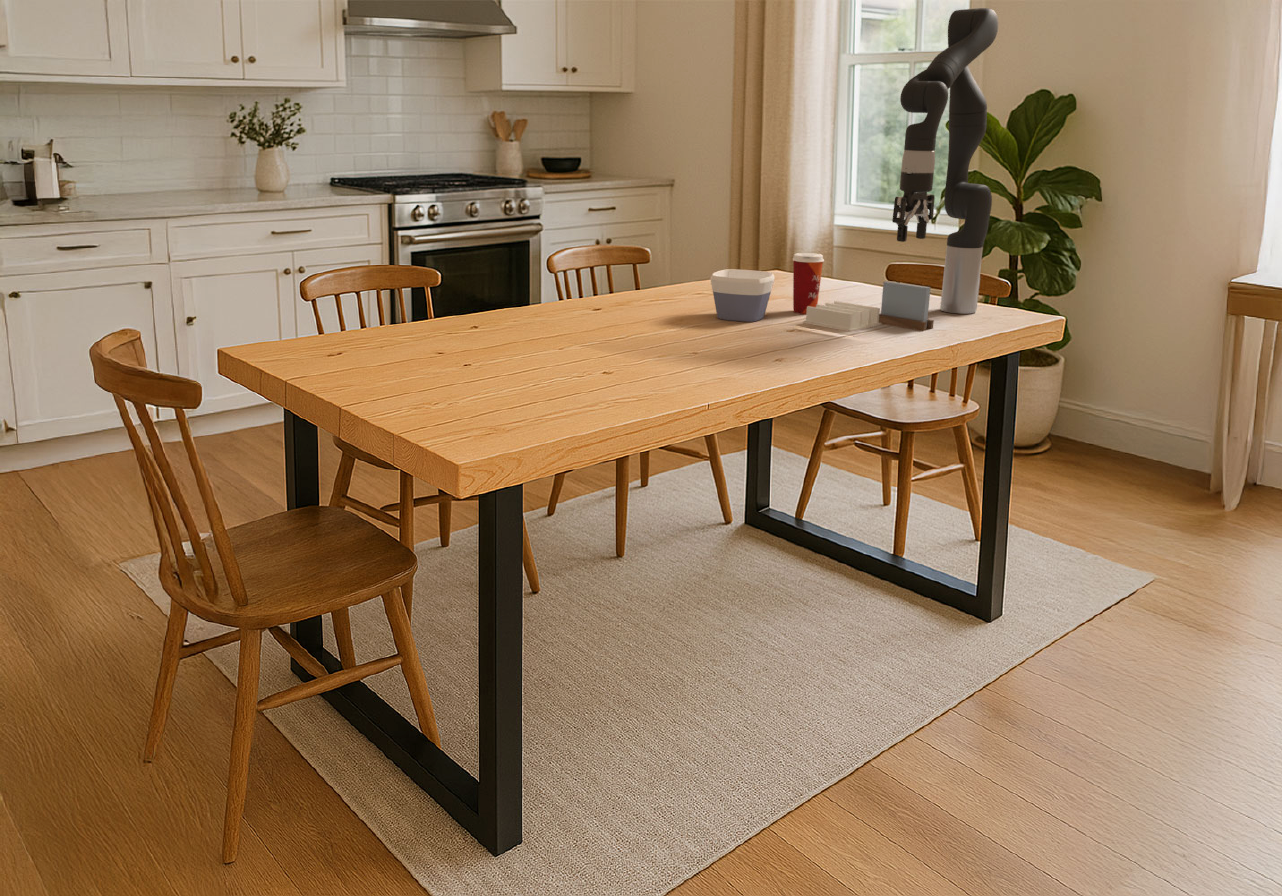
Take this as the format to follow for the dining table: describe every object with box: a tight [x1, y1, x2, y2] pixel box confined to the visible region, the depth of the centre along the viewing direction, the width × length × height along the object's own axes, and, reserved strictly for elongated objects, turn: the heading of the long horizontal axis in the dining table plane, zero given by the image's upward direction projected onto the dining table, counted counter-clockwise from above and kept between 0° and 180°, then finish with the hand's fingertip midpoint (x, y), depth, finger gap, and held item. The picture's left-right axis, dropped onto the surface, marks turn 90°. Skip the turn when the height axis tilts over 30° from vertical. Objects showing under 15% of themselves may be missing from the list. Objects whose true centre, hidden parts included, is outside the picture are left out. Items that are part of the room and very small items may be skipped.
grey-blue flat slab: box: [880, 280, 931, 328], centre depth 265 cm, size 2×12×10 cm, turn 45°
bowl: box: [709, 268, 776, 323], centre depth 275 cm, size 15×15×11 cm
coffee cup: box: [791, 252, 825, 315], centre depth 284 cm, size 8×8×15 cm
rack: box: [802, 300, 882, 332], centre depth 267 cm, size 13×14×5 cm
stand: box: [879, 313, 935, 332], centre depth 267 cm, size 5×14×3 cm, turn 45°
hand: (911, 240), depth 261 cm, fingers open, 8 cm apart
